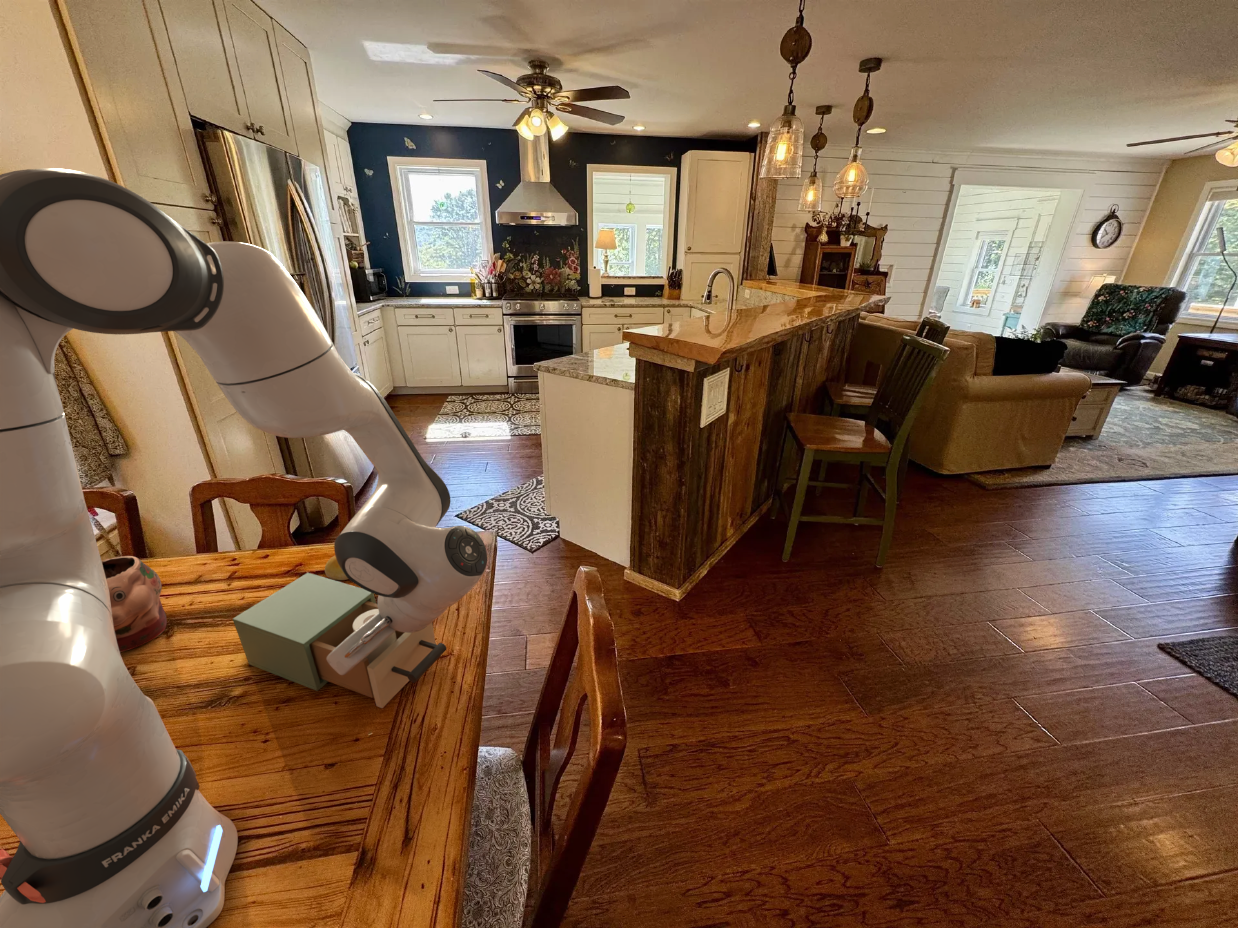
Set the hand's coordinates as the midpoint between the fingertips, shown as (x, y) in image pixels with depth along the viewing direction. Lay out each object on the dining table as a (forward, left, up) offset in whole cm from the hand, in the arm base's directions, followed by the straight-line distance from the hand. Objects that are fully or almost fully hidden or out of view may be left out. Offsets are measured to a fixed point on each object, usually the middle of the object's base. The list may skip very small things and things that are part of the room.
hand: (372, 634), depth 79 cm
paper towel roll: (0, -1, -5) cm, 5 cm away
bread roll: (+20, +28, -8) cm, 35 cm away
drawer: (0, -2, -7) cm, 7 cm away
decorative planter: (-9, +49, -8) cm, 50 cm away
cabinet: (0, +14, -8) cm, 16 cm away
